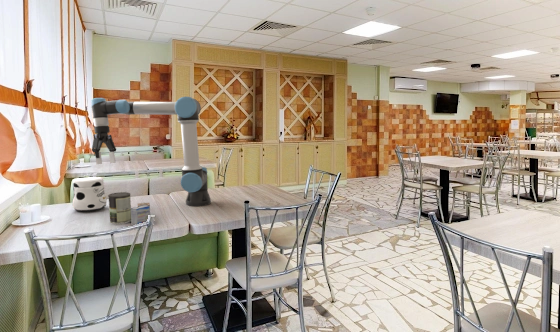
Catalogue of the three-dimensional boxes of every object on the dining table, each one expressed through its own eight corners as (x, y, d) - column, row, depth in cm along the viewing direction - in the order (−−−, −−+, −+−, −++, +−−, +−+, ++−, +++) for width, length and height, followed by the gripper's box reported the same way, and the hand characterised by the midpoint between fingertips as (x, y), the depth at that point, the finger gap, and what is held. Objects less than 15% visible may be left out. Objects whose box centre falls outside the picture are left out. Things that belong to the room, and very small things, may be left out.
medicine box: (136, 226, 168) (136, 209, 167) (131, 225, 170) (130, 207, 169) (150, 222, 175) (149, 205, 174) (145, 221, 177) (144, 204, 176)
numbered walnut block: (150, 215, 189) (149, 202, 188) (150, 217, 184) (149, 204, 183) (138, 216, 187) (137, 203, 186) (138, 218, 181) (137, 205, 181)
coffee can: (106, 224, 171) (104, 196, 170) (114, 218, 182) (112, 192, 180) (127, 223, 172) (126, 196, 171) (134, 218, 183) (133, 192, 181)
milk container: (111, 209, 201) (109, 179, 199) (79, 215, 189) (76, 182, 187) (100, 204, 213) (98, 176, 211) (69, 209, 200) (66, 179, 198)
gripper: (107, 128, 207) (112, 163, 208) (81, 125, 182) (86, 165, 183) (119, 126, 206) (124, 161, 207) (94, 123, 181) (99, 163, 182)
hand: (106, 163), depth 195 cm, fingers open, 13 cm apart
